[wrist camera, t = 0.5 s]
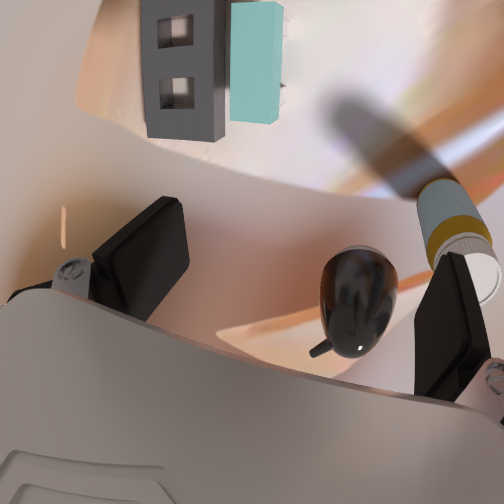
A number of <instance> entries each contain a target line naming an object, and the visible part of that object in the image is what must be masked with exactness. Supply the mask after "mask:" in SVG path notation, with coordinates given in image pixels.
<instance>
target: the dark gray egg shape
mask: <svg viewBox="0 0 504 504" xmlns="http://www.w3.org/2000/svg"><path fill="white" fill-rule="evenodd" d="M397 293H398V276H397V272H396V270H395V268H394V266H393V265H392V264H391V262H390V261H389V260H388V259H387V257H385V255H384V254H383V253H381V252H380V251H378V250H376V249H374V248H372V247H369V246H362V245H358V246H351V247H348V248H345V249H344V250H342V251H340V252H339V253H338V254H336V255H335V256H334V257H333V258H332V259H330V260H329V261H328V263H327V264H326V266H325V267H324V270H323V273H322V277H321V282H320V296H319V305H320V316H321V322H322V326H323V330H324V333H325V336H326V339H325V340H324V341H322V342H321V343H320V344H318V345H317V346H315V347H314V348H312V349H311V350H310V351H309V354H310V356H311V357H312V358H315V357H317V356H319V355H322V354H324V353H326V352H328V351H330V350H332V349H333V351H334V352H335V353H337V354H338V355H340V356H342V357H344V358H348V359H355V358H360V357H362V356H364V355H366V354H367V353H369V352H370V351H371V350H372V349H373V348H374V347H375V346H376V344H377V343H378V342H379V341H380V339H381V337H382V336H383V334H384V332H385V330H386V328H387V326H388V324H389V322H390V320H391V317H392V314H393V311H394V308H395V304H396V299H397Z"/></svg>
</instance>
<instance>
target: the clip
mask: <svg viewBox="0 0 504 504" xmlns="http://www.w3.org/2000/svg"><path fill="white" fill-rule="evenodd" d="M283 9H284V7H283V6H281V5H280V4H278V3H276V2H241V3H231V52H230V121H242V122H252V123H262V124H271V123H273V122H274V121H276V120H277V119H279V106H280V105H282V104H284V103H285V100H286V86H280V82H281V60H282V37H289V21H288V20H286V19H284V18H283Z"/></svg>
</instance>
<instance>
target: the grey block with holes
mask: <svg viewBox="0 0 504 504" xmlns="http://www.w3.org/2000/svg"><path fill="white" fill-rule="evenodd" d="M192 17H194V25H193V45H189V46H178V47H172V45H171V20H177V19H184V18H192ZM225 18H226V0H141V41H142V71H143V89H144V103H145V116H146V127H147V137H148V138H162V139H178V140H192V141H204V142H216V141H218V140H219V139H221V138H223V137H224V136H225ZM188 77H194V105H173V84H172V78H188Z"/></svg>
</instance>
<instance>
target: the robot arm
mask: <svg viewBox="0 0 504 504" xmlns="http://www.w3.org/2000/svg"><path fill="white" fill-rule="evenodd" d="M92 256H93V259H94V262H93V263H92V264H91V262H90V261H89V260H88V259H86V258H83V257H78V258H73V259H70V260H68V261H66V262H64V263H63V264H61V265H60V266H59V267H58V268H57V270H56V272H55V274H54V278H53V280H51V281H48V282H45V283H41V284H37V285H34V286H30V287H27V288H24V289H21V290H17V291H15V292H14V293H13V294H12V295H11V297H10V298H9V300H8V301H7V304H6V305H5V306H4V305H3V306H1V307H0V504H504V360H502V359H499V358H491V352H490V347H489V342H488V337H487V333H486V328H485V324H484V320H483V316H482V312H481V308H480V304H479V301H478V297H477V294H476V290H475V287H474V284H473V280H472V277H471V274H470V271H469V268H468V265H467V262H466V259H465V257H464V255H462V254H458V253H454V252H450V251H449V252H447V254H446V255H444V254H443V255H442V256H441V257H440V260H439V262H438V265H437V267H436V269H435V272H434V274H433V276H432V279H431V281H430V283H429V286H428V288H427V290H426V292H425V294H424V296H423V299H422V301H421V303H420V305H419V307H418V309H417V311H416V314H415V319H414V328H415V384H414V386H415V387H414V395H411V394H405V393H400V392H394V391H389V390H383V389H378V388H373V387H368V386H362V385H358V384H353V383H348V382H344V381H338V380H334V379H330V378H326V377H321V376H317V375H313V374H309V373H305V372H301V371H297V370H293V369H289V368H286V367H282V366H278V365H274V364H271V363H267V362H264V361H260V360H257V359H253V358H250V357H246V356H243V355H239V354H236V353H233V352H230V351H227V350H223V349H220V348H217V347H214V346H211V345H208V344H205V343H202V342H199V341H196V340H193V339H190V338H188V337H185V336H182V335H179V334H176V333H173V332H170V331H168V330H165V329H162V328H160V327H157V326H154V325H151V324H149V323H146V320H147V319H148V318H149V316H150V315H151V314H152V313H153V311H154V310H155V309H156V308H157V306H158V305H159V304H160V302H161V301H162V300H163V299H164V297H165V296H166V295H167V293H168V292H169V291H170V290H171V289H172V287H173V286H174V285H175V284H176V282H177V281H178V280H179V279H180V277H181V276H182V275H183V274H184V272H185V271H186V270H187V268H188V266H189V262H190V259H189V252H188V245H187V238H186V231H185V223H184V215H183V208H182V204H181V203H180V202H179V200H178V199H177V198H174V197H167V196H162V197H160V198H159V199H158V200H156V201H155V202H154V203H153V204H151V205H150V206H149V207H148V208H146V209H145V210H144V211H142V212H141V213H140V214H139V215H137V216H136V217H135V218H134V219H133V220H131V221H130V222H129V223H128V224H126V225H125V226H124V227H123V228H121V229H120V230H119V231H118V232H117V233H116V234H114V235H113V236H112V237H111V238H110V239H108V240H107V241H106V242H105V243H104V244H103V245H101V246H100V247H99V248H98V249H97V250H96V251H95V252H93V253H92Z"/></svg>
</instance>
